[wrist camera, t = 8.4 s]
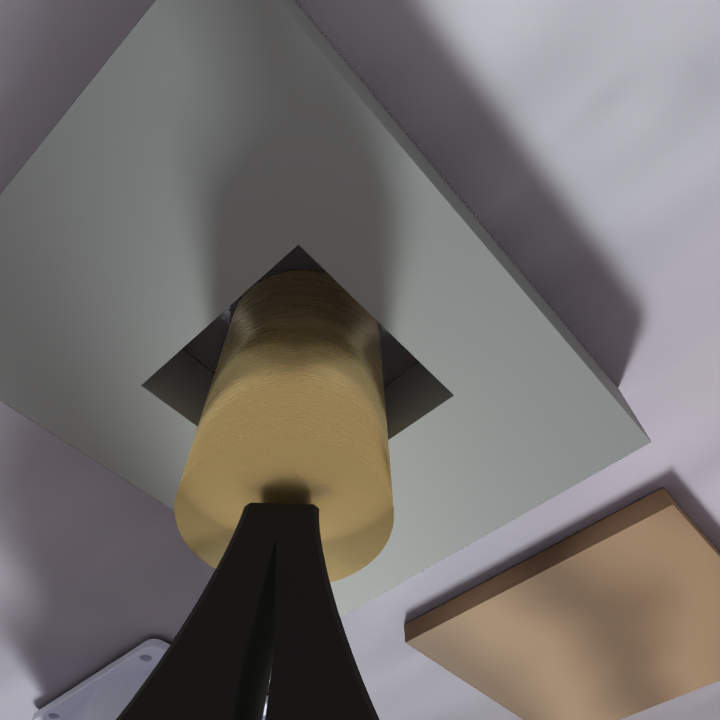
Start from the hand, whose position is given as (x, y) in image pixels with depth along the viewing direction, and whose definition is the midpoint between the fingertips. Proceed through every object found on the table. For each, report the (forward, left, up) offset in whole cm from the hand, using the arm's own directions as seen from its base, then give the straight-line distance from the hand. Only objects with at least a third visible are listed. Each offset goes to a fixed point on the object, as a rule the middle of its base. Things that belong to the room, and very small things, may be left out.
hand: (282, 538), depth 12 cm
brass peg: (0, 0, -7) cm, 7 cm away
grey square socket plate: (0, 0, -7) cm, 7 cm away
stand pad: (-1, -19, -7) cm, 20 cm away
